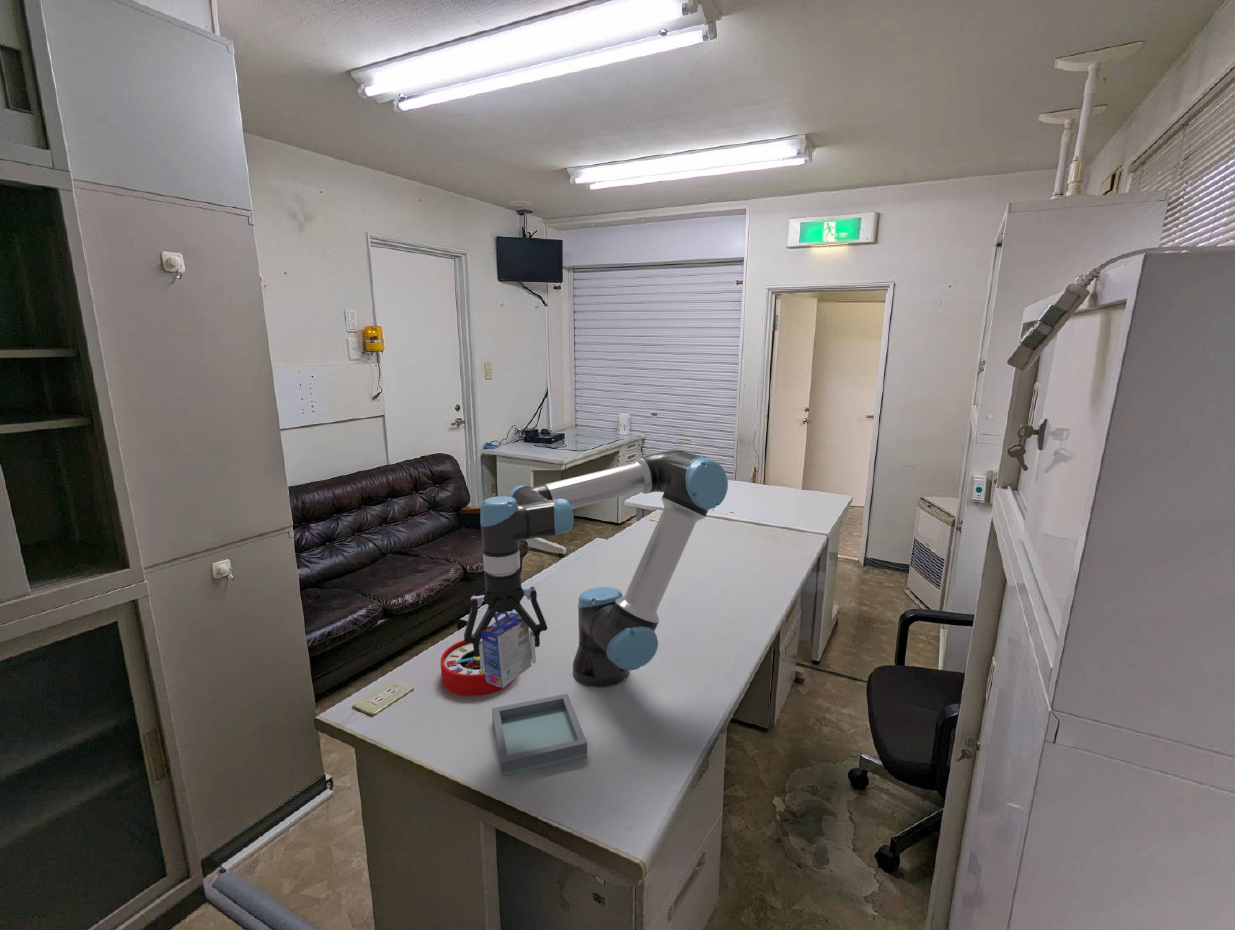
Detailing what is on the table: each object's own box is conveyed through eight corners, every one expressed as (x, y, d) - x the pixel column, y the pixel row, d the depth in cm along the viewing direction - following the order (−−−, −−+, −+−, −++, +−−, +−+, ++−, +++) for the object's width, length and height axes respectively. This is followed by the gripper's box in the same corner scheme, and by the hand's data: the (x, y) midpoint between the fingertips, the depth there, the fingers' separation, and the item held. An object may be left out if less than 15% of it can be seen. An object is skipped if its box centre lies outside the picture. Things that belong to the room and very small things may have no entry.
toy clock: (524, 666, 140) (442, 683, 133) (525, 687, 141) (444, 704, 134) (510, 630, 158) (438, 643, 151) (511, 648, 160) (439, 662, 153)
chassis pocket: (567, 706, 133) (567, 693, 132) (587, 757, 116) (587, 742, 116) (492, 721, 127) (491, 708, 127) (501, 777, 111) (501, 762, 110)
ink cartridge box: (514, 659, 126) (510, 601, 123) (532, 666, 123) (529, 607, 120) (483, 681, 118) (478, 620, 115) (502, 689, 115) (498, 626, 112)
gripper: (552, 557, 122) (556, 646, 127) (446, 569, 116) (454, 664, 120) (558, 569, 115) (562, 664, 120) (445, 584, 109) (454, 683, 113)
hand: (508, 664), depth 120 cm, fingers closed on ink cartridge box, 10 cm apart
